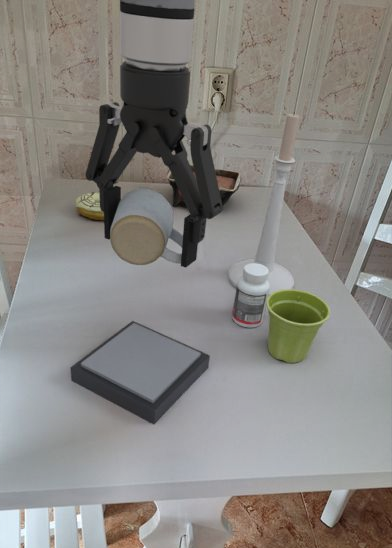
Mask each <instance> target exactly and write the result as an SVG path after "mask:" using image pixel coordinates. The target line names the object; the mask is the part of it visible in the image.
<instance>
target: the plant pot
mask: <svg viewBox="0 0 392 548" xmlns="http://www.w3.org/2000/svg"><path fill="white" fill-rule="evenodd" d="M266 308H267V312H268V317H269V319H268V339H267V350H268V352H269V354H270V356H272V357H273V358H274V359H276V360H281V361H284V362H285V363H288V364H294V363H295V364H296V363H300V362H301V361H303V360H305V358H306V357H307V355H308V353H309V351H310V349H311V346H312V344H313V343H314V341H315V338H316V336H317V334H318V332H319V330H320V328H321V327H322V326H323V325H324V323H325V322H327V321H328V320H329V318H330V316H331V308H330V306H329V305H328V304H327V302H326V301H325V300H324V299H322V298H320V296H318V295H315V294H314V293H311V292H308V291H305V290H300V289H294V288H293V289H285V290H279V291H276V292H273V293H272V294H270V295H269V296H268V298H267V301H266Z"/></svg>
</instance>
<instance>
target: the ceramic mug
mask: <svg viewBox="0 0 392 548" xmlns="http://www.w3.org/2000/svg"><path fill="white" fill-rule="evenodd" d="M121 197H122V199H121V200H120V202H119V205H118V208H117V211H116V214H115V217H114V220H113V223H112V225H111V230H110V239H109V240H110V245H111V248H112V250H113V251H114V253H115V254H116V255H117V257H118V258H119V259H121V260H122V261H124V262H126V263H128V264H130V265H136V266H146V265H150V264H152V263H154V262H156V261H158V259H159V258H163V259H164V260H166V261H168V262H169V263H173V264H177V265H179V264H180V265H181V255H182V253H179V252H176V251H174V250H172V249H170V248H168V247H167V246H168V241H169V239H170V240H172V241H173V242H175V243H176V244H177V245H178V246H179V247H180V248H181V249H182V243H183V232H181V231H180V230H179V229H178V230H177V229H176V228H175V227H173V226H174V221H175V219H174V211H173V209H172V205H171V204H170V203H169V201H168V200H167V199H166V198H165V196H163V194H160V192H158V191H156V190H153V189H150V188H146V187H145V188H135V189H131V190H130V191H128V192H126V193H124V195H123V196H121Z"/></svg>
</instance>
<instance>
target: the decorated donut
mask: <svg viewBox="0 0 392 548" xmlns="http://www.w3.org/2000/svg"><path fill="white" fill-rule="evenodd" d="M122 197H123V196H121V199H122ZM75 208H76V210H77V212H78V214H80V215H82V216H83V217H86V218H88V219H90V220H95V221H104V212H103V211H101V209H100V194H99V191H91V192H88V193H84V194H81V195H80V196H78V197H77V198H76V200H75Z"/></svg>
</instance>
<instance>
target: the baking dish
mask: <svg viewBox="0 0 392 548" xmlns="http://www.w3.org/2000/svg"><path fill="white" fill-rule="evenodd" d="M189 164H190V166H191V169H192V171H193V173H194V175H195V171H194V166H193V163H189ZM214 168H215V173H216V177H217V182H218V187H219V192H220V197H221V201H222V206H224V205H225V204H226V203H228V202H229V200H230V199H231V196H232V195H234V194H235V193H236V192H237V191H238V190H239V188H240V185H241V182H242V173H241V172H239V171H237V170H231V169H224V168H219V167H214ZM195 178H196V175H195ZM166 180H167V181H168V182H169V186H171V188H172V207H173V208H174V207H175V206H177V205H178V204H179V203H181V202H184V200H183V198H182V196H181V193H180V191H179V189H178V187H177V185H176V182H175V180H174V178H173V176H172V174H171V172H170V169H169V168H168V170H167V172H166Z"/></svg>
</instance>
